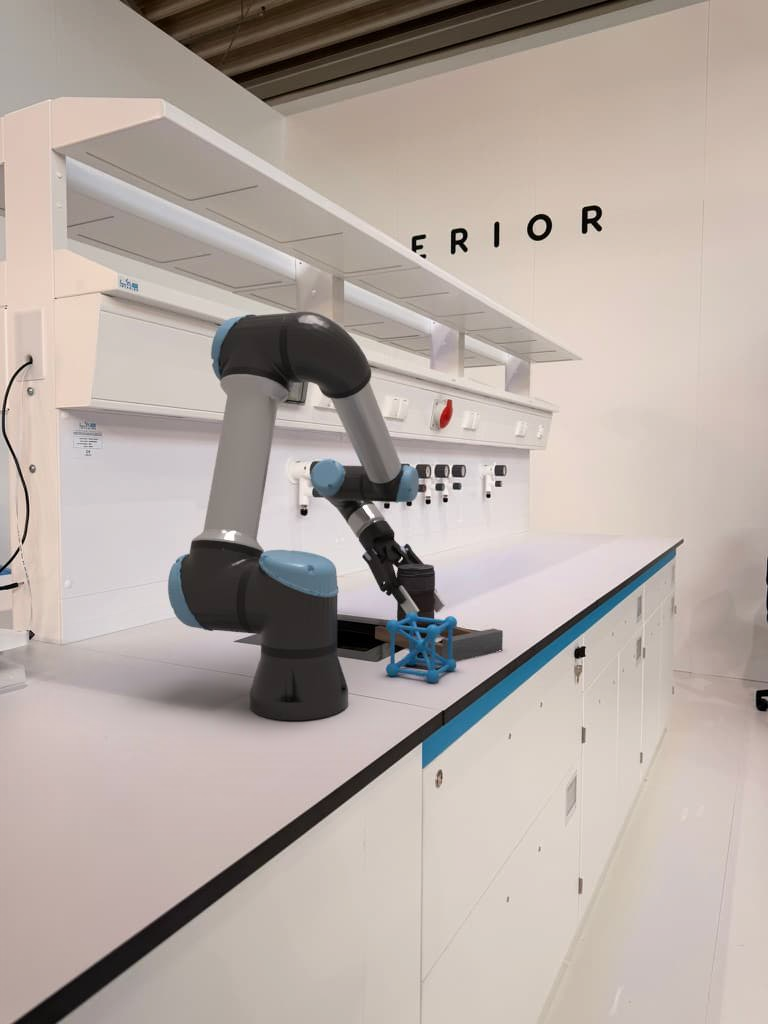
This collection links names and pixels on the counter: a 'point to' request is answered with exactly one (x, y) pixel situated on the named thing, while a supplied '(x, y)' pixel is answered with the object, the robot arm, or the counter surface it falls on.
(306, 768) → the counter surface
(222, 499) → the robot arm
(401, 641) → the guide rails
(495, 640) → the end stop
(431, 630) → the molecular structure
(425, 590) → the camera lens
